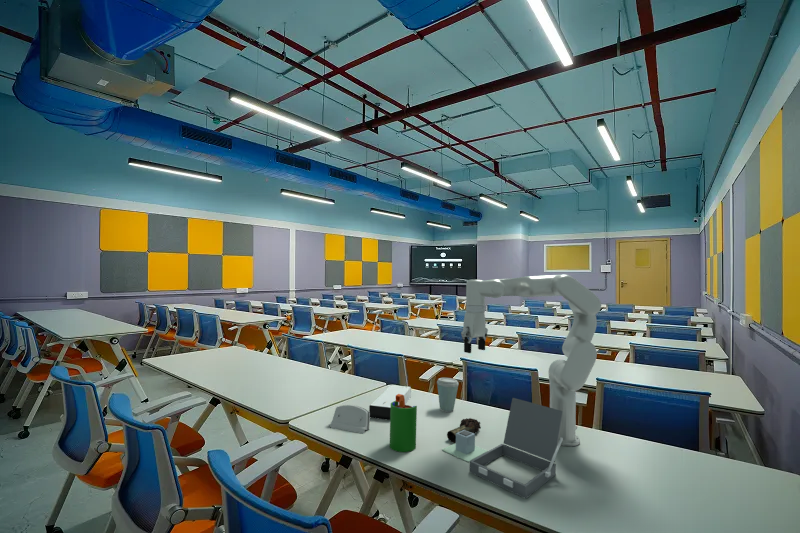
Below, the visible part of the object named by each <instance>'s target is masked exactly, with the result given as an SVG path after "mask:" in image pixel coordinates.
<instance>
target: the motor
mask: <svg viewBox="0 0 800 533" xmlns="http://www.w3.org/2000/svg"><path fill="white" fill-rule="evenodd" d="M398 402H399V405H398ZM417 407H418V406H417V405H413V406H411V405H407V404H405V399H404V395H401V394H398V395H396V401H394V402H392V403H391V411H390V420H389V448H390V449H391V450H393V451H395V452H399V453H407V452H412V451H414V450H416V448H417V418H418V417H417V415H418V414H417V411H418V408H417Z"/></svg>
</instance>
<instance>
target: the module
mask: <svg viewBox="0 0 800 533" xmlns="http://www.w3.org/2000/svg"><path fill="white" fill-rule="evenodd" d="M455 443H456V450H457V451H460V452H462V453H464V454H469V453H471V452H473V451H474V450H475V446H476V433H471V432H468V431H466V430H463V431H460V432H458V433H456V442H455Z"/></svg>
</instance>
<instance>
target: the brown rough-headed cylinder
mask: <svg viewBox="0 0 800 533" xmlns="http://www.w3.org/2000/svg"><path fill="white" fill-rule="evenodd" d="M481 428H482V426H481V422H480V421H478V419H475V418H471V417H469V418H462V419H461V420H460V424H459V426H457V427H456V428H453V429H450V430H449V431H448V432H446V437H447V439H448V441H449V442H451V443H453V444H455V443H456V433H458V432H460V431H463V430H466V431H468V432H471V433H474V434H478V432H479V431H480V429H481Z"/></svg>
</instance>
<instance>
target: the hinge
mask: <svg viewBox="0 0 800 533" xmlns="http://www.w3.org/2000/svg"><path fill="white" fill-rule="evenodd" d="M330 427H331V429H336V430H341V429H342V431H346V430H347V432H348V431H349V432H352V431H354V433H357V432H359V434H363V433H364V434H365V431H367V430H368V431H369V430H370V413H369V410H367V409H365V408H363V407H362V406H358V405H353V404H345V405H339V406H336V408H335V410H334V414H333V417H332V419H331V422H330V425H329V428H330Z"/></svg>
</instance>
